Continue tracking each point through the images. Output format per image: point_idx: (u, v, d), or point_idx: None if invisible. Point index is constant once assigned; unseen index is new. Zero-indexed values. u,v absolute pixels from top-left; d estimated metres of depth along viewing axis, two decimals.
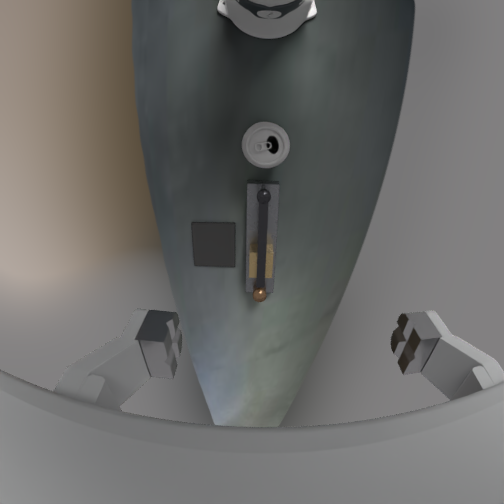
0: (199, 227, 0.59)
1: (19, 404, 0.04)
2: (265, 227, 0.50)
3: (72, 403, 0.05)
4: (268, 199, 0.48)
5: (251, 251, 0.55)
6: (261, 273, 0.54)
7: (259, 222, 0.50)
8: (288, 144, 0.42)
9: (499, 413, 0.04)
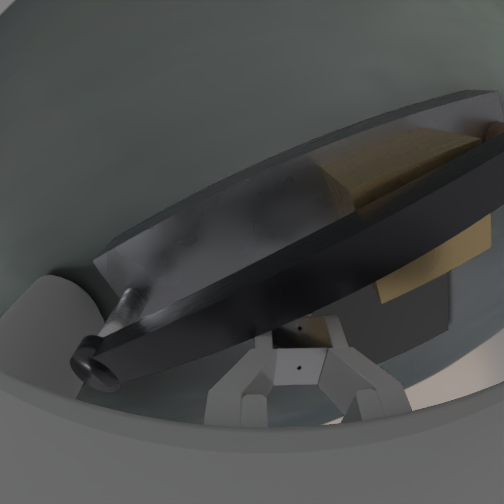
0: None
1: (19, 404, 0.04)
2: (185, 327, 0.08)
3: (72, 403, 0.05)
4: (85, 360, 0.09)
5: (375, 289, 0.10)
6: (478, 192, 0.06)
7: (184, 358, 0.09)
8: None
9: (499, 413, 0.04)
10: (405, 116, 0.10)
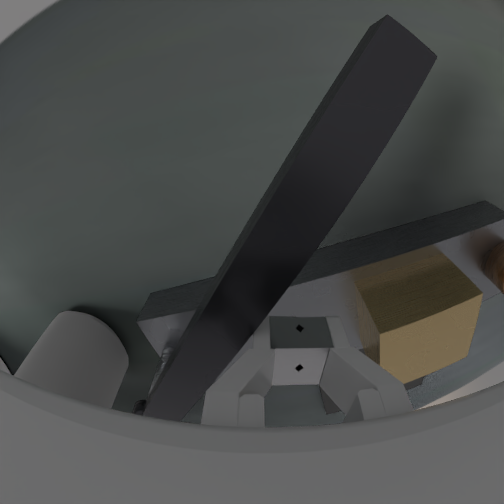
0: None
1: (19, 404, 0.04)
2: (175, 376, 0.09)
3: (72, 403, 0.05)
4: None
5: None
6: (353, 127, 0.06)
7: (194, 397, 0.10)
8: None
9: (499, 413, 0.04)
10: (430, 243, 0.13)
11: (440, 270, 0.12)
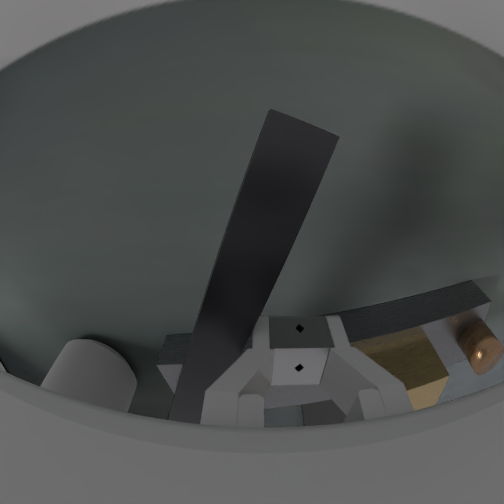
0: None
1: (19, 404, 0.04)
2: None
3: (72, 403, 0.05)
4: None
5: None
6: (252, 245, 0.07)
7: None
8: None
9: (499, 413, 0.04)
10: (415, 325, 0.15)
11: (419, 349, 0.15)
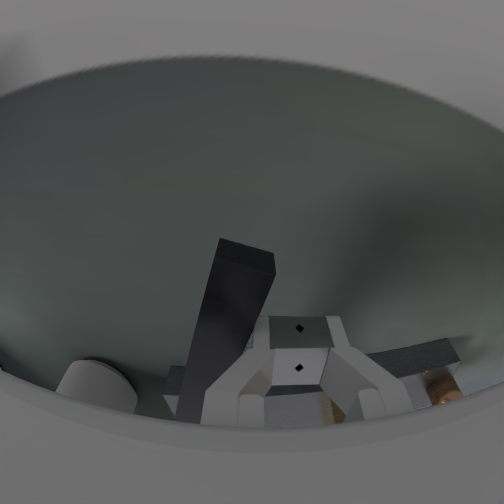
0: None
1: (19, 404, 0.04)
2: None
3: (72, 403, 0.05)
4: None
5: None
6: (214, 349, 0.08)
7: None
8: None
9: (499, 413, 0.04)
10: None
11: None
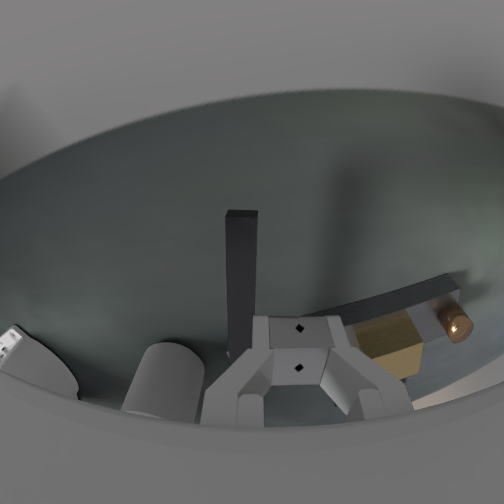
0: None
1: (19, 404, 0.04)
2: None
3: (72, 403, 0.05)
4: None
5: None
6: (239, 271, 0.16)
7: None
8: None
9: (499, 413, 0.04)
10: (399, 309, 0.23)
11: (403, 325, 0.22)
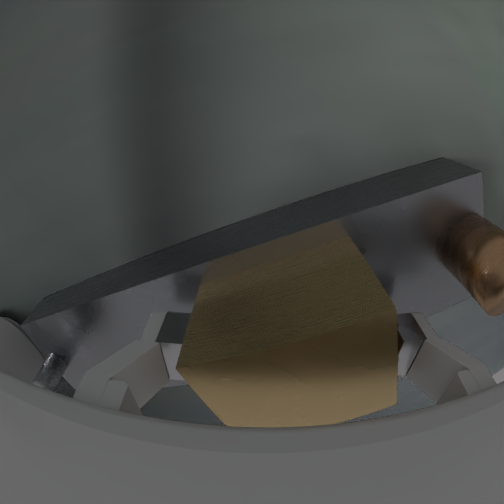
0: None
1: (19, 404, 0.04)
2: None
3: (72, 403, 0.05)
4: None
5: None
6: None
7: None
8: None
9: (499, 413, 0.04)
10: (321, 222, 0.09)
11: (330, 265, 0.08)
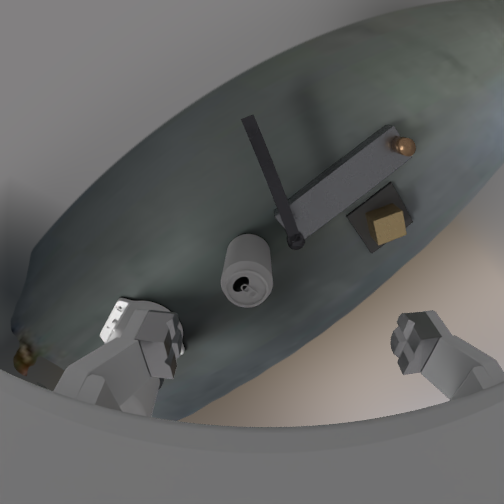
0: (371, 243, 0.48)
1: (19, 404, 0.04)
2: (279, 207, 0.37)
3: (72, 403, 0.05)
4: (290, 241, 0.39)
5: (377, 242, 0.44)
6: (255, 139, 0.33)
7: (289, 210, 0.37)
8: (228, 269, 0.39)
9: (499, 413, 0.04)
10: (361, 150, 0.39)
11: (390, 207, 0.44)
